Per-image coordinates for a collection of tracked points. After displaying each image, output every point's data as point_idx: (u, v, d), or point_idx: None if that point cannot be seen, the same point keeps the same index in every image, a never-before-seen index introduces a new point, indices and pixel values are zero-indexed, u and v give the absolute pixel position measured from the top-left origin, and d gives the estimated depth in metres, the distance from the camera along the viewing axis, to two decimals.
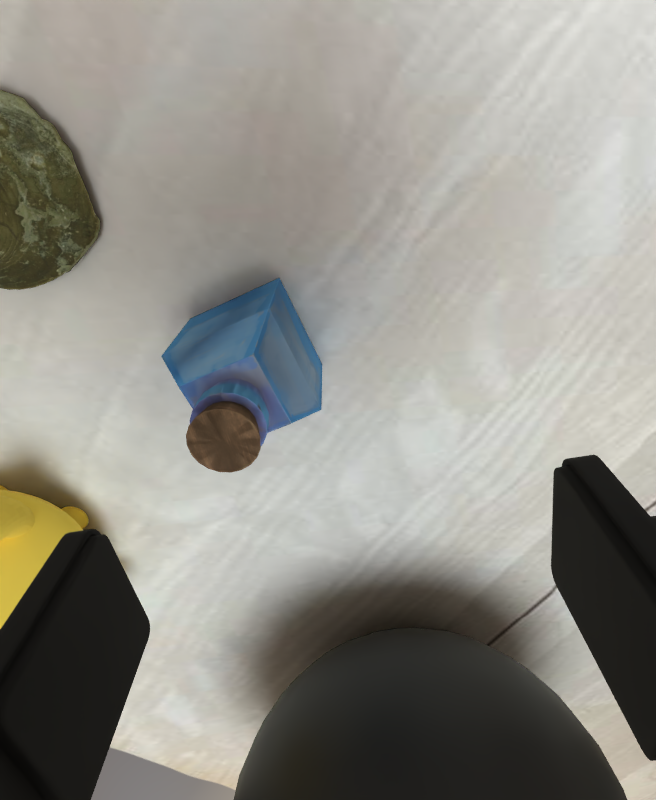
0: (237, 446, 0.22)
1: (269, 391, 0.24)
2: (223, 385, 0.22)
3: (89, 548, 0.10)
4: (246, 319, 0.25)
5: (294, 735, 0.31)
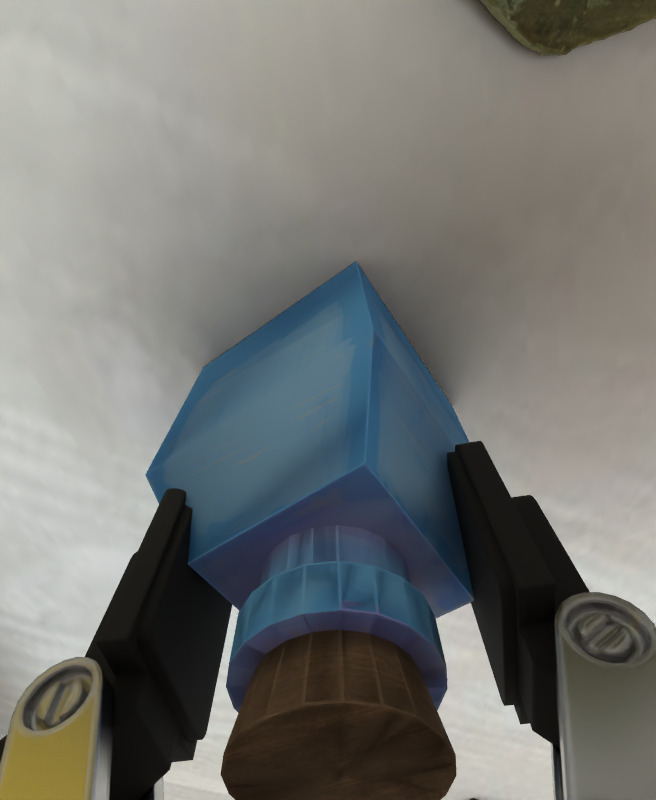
0: (328, 798, 0.07)
1: None
2: None
3: None
4: None
5: None
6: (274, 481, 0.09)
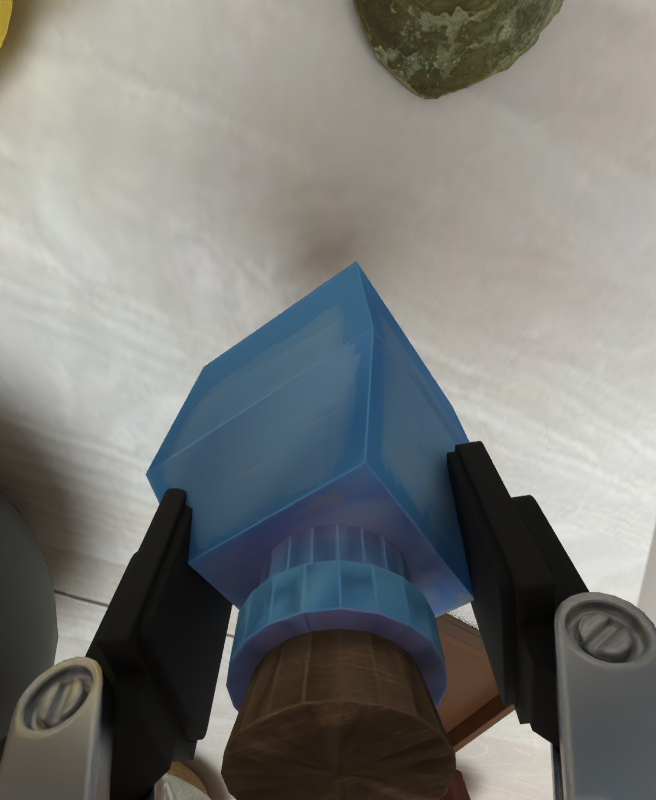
0: (329, 797, 0.07)
1: None
2: (436, 623, 0.08)
3: None
4: None
5: None
6: (274, 480, 0.09)
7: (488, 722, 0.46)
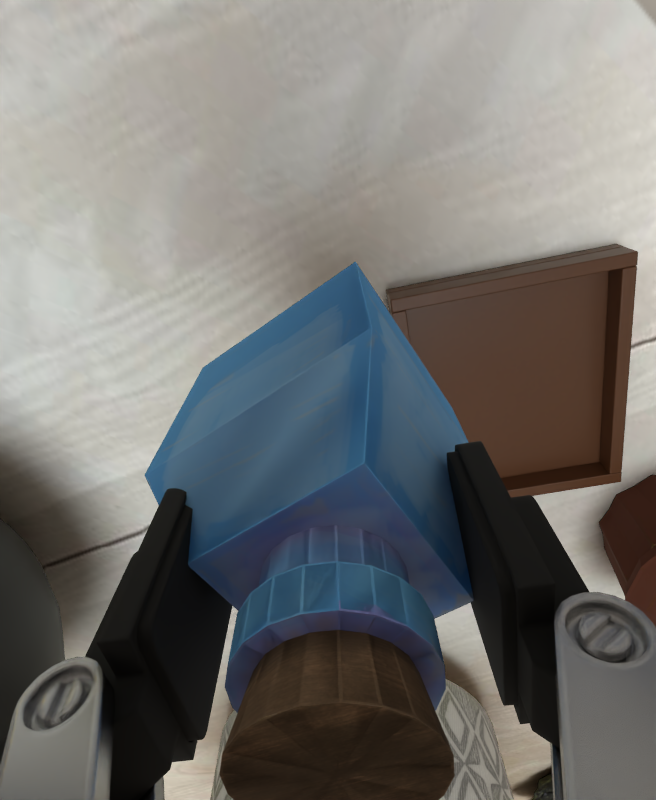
0: (327, 798, 0.07)
1: None
2: None
3: None
4: None
5: None
6: (273, 481, 0.09)
7: (618, 369, 0.31)
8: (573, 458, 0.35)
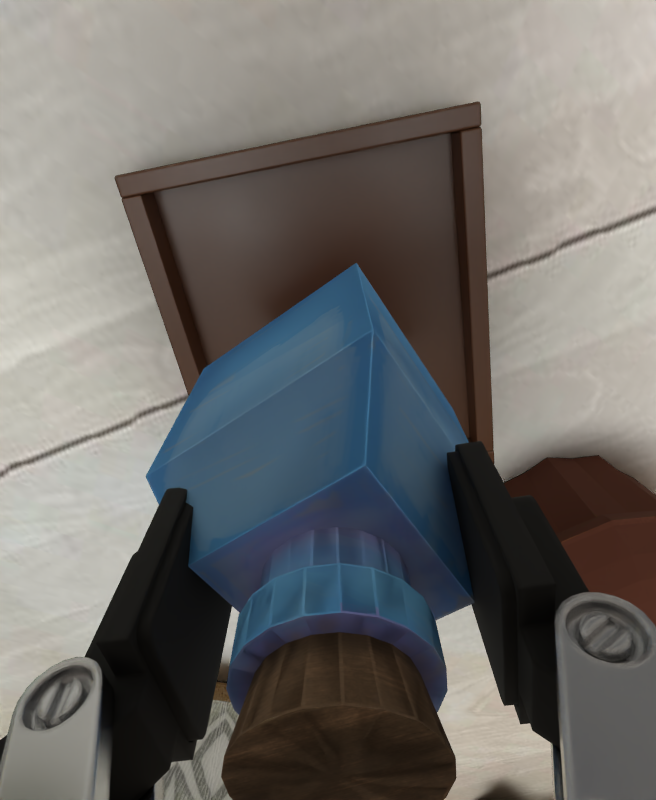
0: None
1: None
2: (436, 626, 0.08)
3: None
4: None
5: None
6: (274, 483, 0.09)
7: (471, 296, 0.21)
8: None
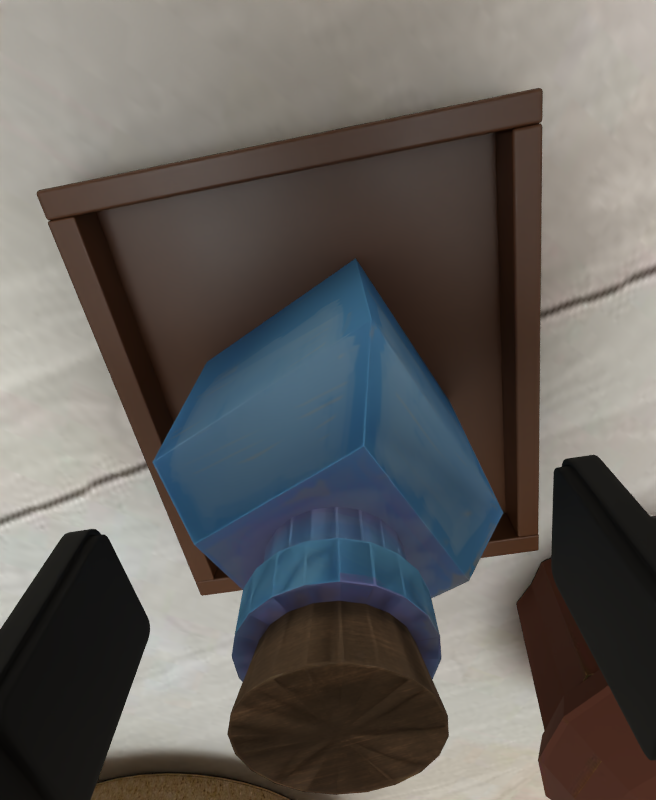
0: (329, 758, 0.07)
1: None
2: None
3: (89, 548, 0.10)
4: (480, 483, 0.12)
5: None
6: (277, 465, 0.10)
7: (519, 348, 0.16)
8: None
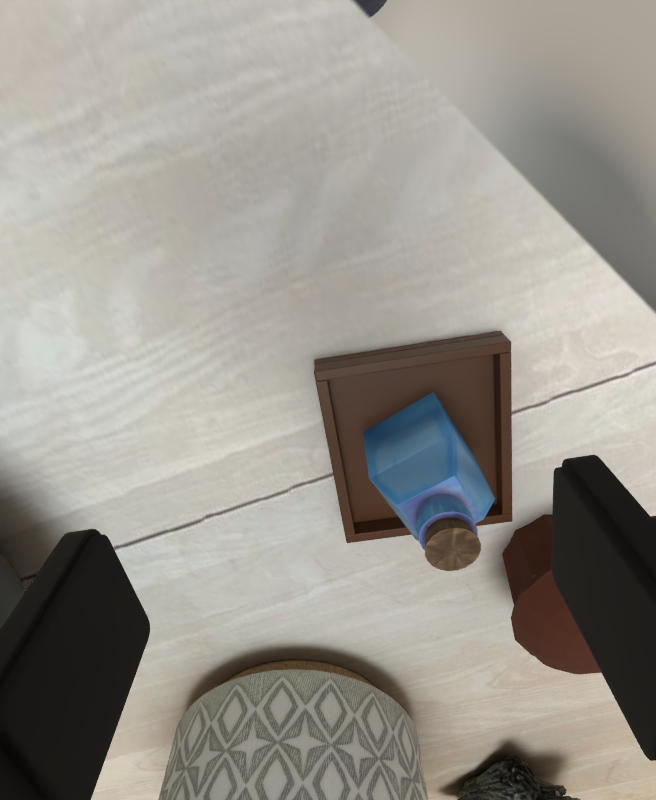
0: (449, 557, 0.29)
1: None
2: (473, 520, 0.30)
3: (89, 548, 0.10)
4: (487, 487, 0.34)
5: None
6: (424, 480, 0.31)
7: (502, 431, 0.37)
8: None
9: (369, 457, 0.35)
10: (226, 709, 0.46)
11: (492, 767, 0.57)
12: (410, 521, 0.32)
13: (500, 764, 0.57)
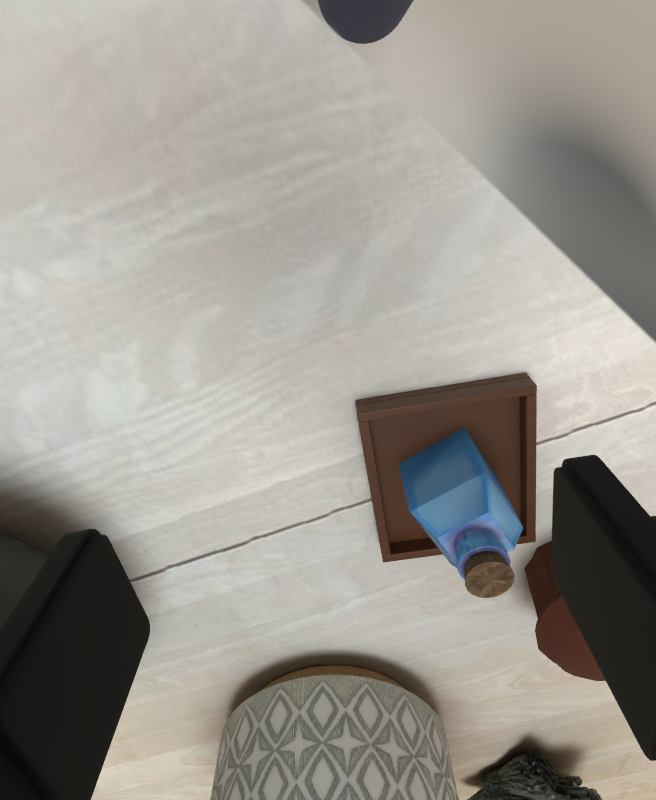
0: (486, 587, 0.33)
1: None
2: None
3: (89, 548, 0.10)
4: (515, 518, 0.37)
5: None
6: (461, 515, 0.35)
7: (527, 462, 0.41)
8: None
9: (407, 490, 0.39)
10: (272, 712, 0.50)
11: (513, 760, 0.62)
12: (448, 551, 0.36)
13: (520, 757, 0.61)
